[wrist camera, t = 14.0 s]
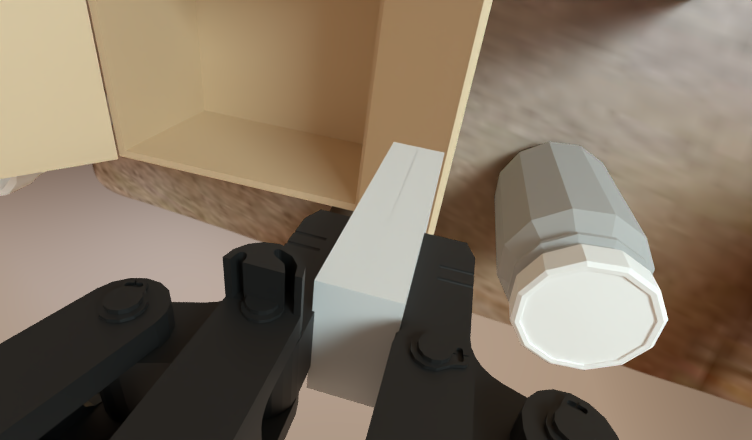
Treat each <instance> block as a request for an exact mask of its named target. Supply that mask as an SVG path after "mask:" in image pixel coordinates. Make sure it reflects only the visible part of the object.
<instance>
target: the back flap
mask: <svg viewBox="0 0 752 440" xmlns="http://www.w3.org/2000/svg"><path fill="white" fill-rule="evenodd" d="M116 159H118V155H117V150H116V145H115V141H114V136H113V131H112V126H111V121H110V116H109V111H108V107H107V102H106V97H105V92H104V87H103V82H102V78H101V73H100V68H99V63H98V58H97V53H96V48H95V44H94V39H93V34H92V29H91V24H90V19H89V14H88V10H87V5H86V0H0V179H4V178H10V177H15V176H21V175H27V174H33V173H39V172H45V171H51V170H57V169H63V168H69V167H75V166H81V165H87V164H93V163H99V162H104V161H110V160H116Z"/></svg>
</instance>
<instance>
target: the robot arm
mask: <svg viewBox="0 0 752 440" xmlns="http://www.w3.org/2000/svg"><path fill="white" fill-rule="evenodd" d="M443 157H444V152H439V151H434V150H430V149H425V148H420V147H416V146H411V145H406V144H402V143H397V142H393V144H392V146H391V148H390V149H389V151H388V153H387V154H386V156H385V158H384V160H383V161H382V163H381V165H380V167H379V168H378V170H377V172H376V174H375V175H374V177H373V179H372V181H371V182H370V184H369V186H368V188H367V189H366V191H365V193H364V195H363V196H362V198H361V200H360V202H359V203H358V205H357V207H356V209H355V210H354V212H353V214H352V216H351V217H350V216H345V215H341V214H337V213H333V212H329V211H325V210H319V211H318V212H316V213H314V214H312V215H310V216H308V217H306V218H305V219H304V220H303V221H302V223H301V224H300V225H299V227H298V228H297V229H296V232H295V233H293V235H292V236H291V237H290V239H289V240H288V243H286V244H285V245H284V246H283V245H281V244H274V243H266V242H262V243H252V244H247V245H244V246H241V247H238V248H235V249H233V250H232V251H230V252H229V253H228V254H226V255H225V256H224V257H223V267H224V281H225V294H226V297H225V298H224V299H223V301H219V302H208V303H194V302H171V298H170V293H169V290H168V289H167V288H166V287H165V286H164V285H163V284H161V283H160V282H157V281H154V280H151V279H147V278H146V279H145V278H129V279H124V280H119V281H114V282H111V283H109V284H107V285H104V286H102V287H100V288H97V289H95V290H93V291H92V292H90V293H88V294H86V295H85V296H83V297H82V298H80V299H78V300H76V301H74V302H72V303H71V304H69V305H67V306H65V307H64V308H62V309H60V310H59V311H57V312H55V313H53V314H51V315H50V316H48V317H46V318H44V319H43V320H41V321H39V322H38V323H36V324H34V325H32V326H30V327H29V328H27V329H25V330H23V331H22V332H20V333H18V334H17V335H15V336H13V337H11V338H10V339H8V340H6V341H4V342H3V343H1V344H0V440H284V439H285V437H286V435H287V433H288V430H289V428H290V426H291V423H292V421H293V419H294V417H295V414H296V410H297V405H298V395H299V391H300V388H301V386H302V384H303V382H304V380H305V378H306V375H307V373H308V377H307V388H310V389H314V390H317V391H320V392H324V393H327V394H330V395H334V396H338V397H340V398H344V399H347V400H351V401H354V402H357V403H361V404H364V405H367V406H371V407H374V411H373V415H372V418H371V422H370V426H369V430H368V433H367V437H366V440H619V438H618V437H617V435H616V433H615V432H614V431H613V429H612V428H611V426H610V425H609V423H608V422H607V420H606V419H605V418H604V417H603V416H602V415H601V414H600V413H599V412H598V411H597V410H596V409H594V408H593V407H592V406H591V405H590V404H589V403H587V402H585V401H583V400H581V399H580V398H578V397H576V396H574V395H572V394H570V393H566V392H562V391H558V390H554V389H553V390H542V391H537V392H536V393H534V394H533V395H531V396H530V397H528V398H526V397H525V396H523V395H521V394H520V393H518V392H516V391H514V390H513V389H511V388H509V387H507V386H506V385H504V384H502V383H501V382H499V381H498V380H496V379H495V378H494V377H492V376H491V375H490V374H489V373H488V372H487V371H486V370H485V369H484V368H483V367H482V366H481V365H480V363H479V362H478V360H477V359H476V357H475V355H474V353H473V350H472V348H471V341H470V333H471V316H472V300H473V283H474V266H475V257H474V255H473V254H472V252H471V250H470V248H469V246H468V244H467V243H464V242H460V241H456V240H452V239H448V238H444V237H439V236H435V235H431V234H427V233H426V230H427V226H428V222H429V217H430V213H431V209H432V205H433V200H434V196H435V192H436V187H437V183H438V179H439V175H440V170H441V166H442V162H443Z"/></svg>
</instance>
